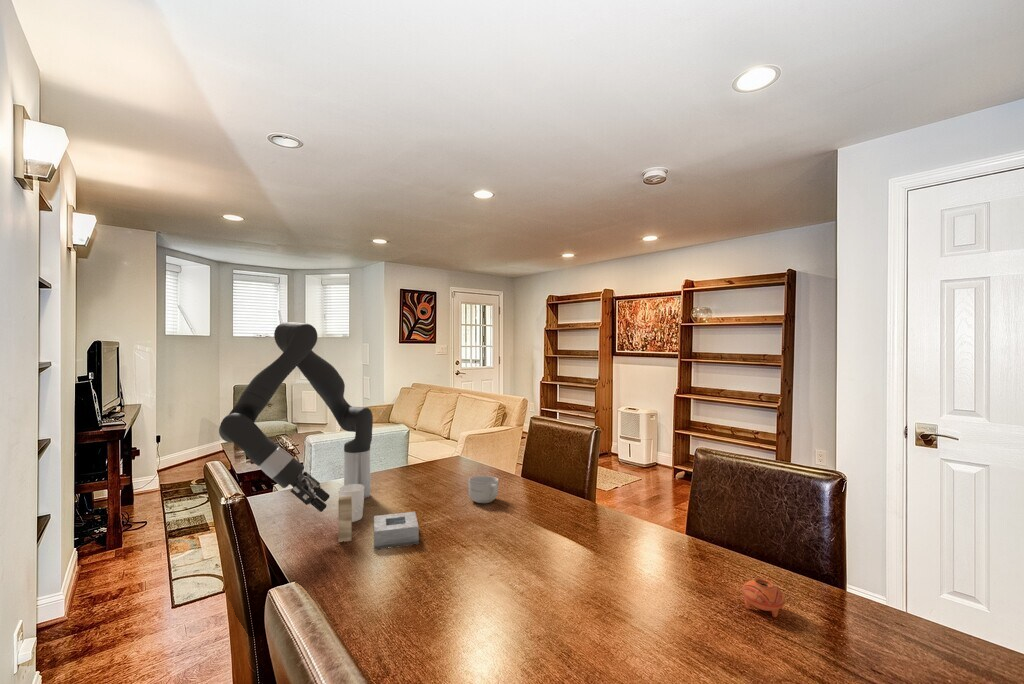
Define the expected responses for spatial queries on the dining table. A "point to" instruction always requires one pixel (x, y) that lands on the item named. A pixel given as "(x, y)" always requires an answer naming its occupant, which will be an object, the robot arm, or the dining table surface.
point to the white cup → (354, 499)
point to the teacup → (483, 488)
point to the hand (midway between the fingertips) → (325, 503)
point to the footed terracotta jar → (763, 595)
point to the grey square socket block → (395, 530)
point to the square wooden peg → (345, 518)
